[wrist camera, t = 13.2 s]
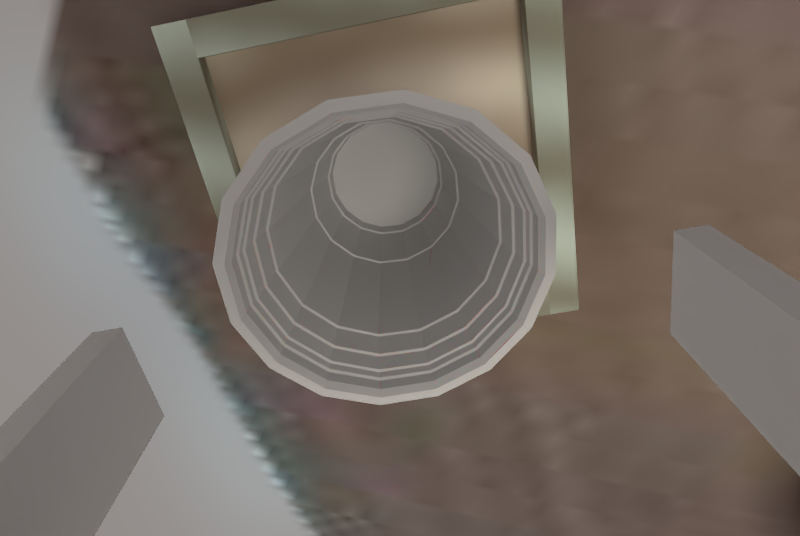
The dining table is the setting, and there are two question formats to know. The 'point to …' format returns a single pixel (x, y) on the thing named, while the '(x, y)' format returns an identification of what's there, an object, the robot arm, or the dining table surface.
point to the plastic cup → (385, 247)
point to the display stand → (377, 81)
